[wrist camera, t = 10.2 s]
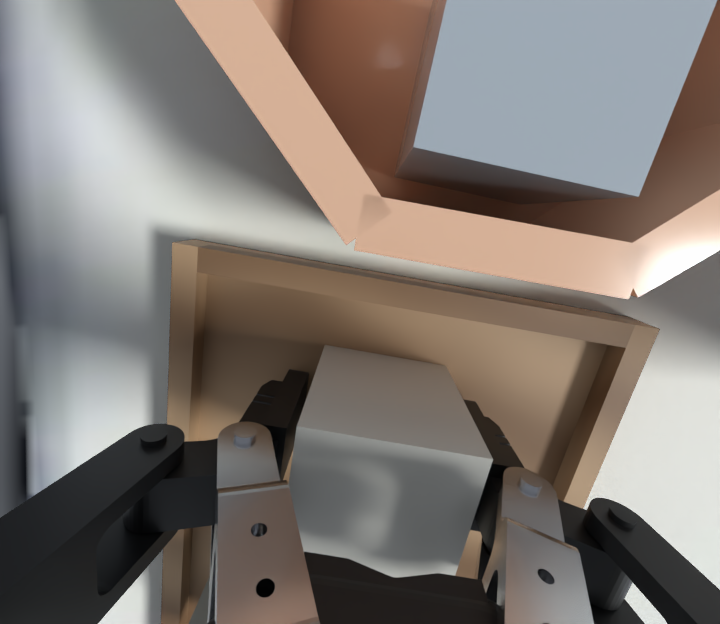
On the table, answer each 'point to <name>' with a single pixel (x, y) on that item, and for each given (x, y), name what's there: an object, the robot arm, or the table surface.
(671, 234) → the terracotta bowl
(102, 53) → the table surface
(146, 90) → the table surface
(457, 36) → the pale blue cube
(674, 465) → the table surface
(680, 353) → the table surface
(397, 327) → the walnut tray
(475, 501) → the pale grey cube
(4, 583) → the robot arm
